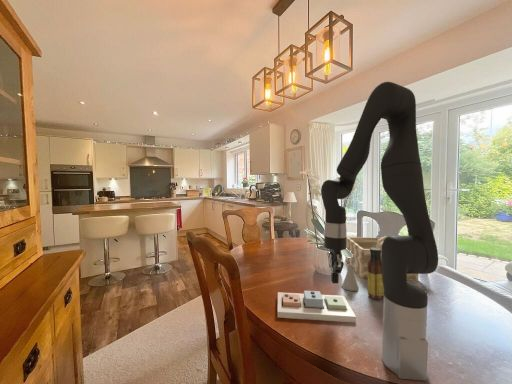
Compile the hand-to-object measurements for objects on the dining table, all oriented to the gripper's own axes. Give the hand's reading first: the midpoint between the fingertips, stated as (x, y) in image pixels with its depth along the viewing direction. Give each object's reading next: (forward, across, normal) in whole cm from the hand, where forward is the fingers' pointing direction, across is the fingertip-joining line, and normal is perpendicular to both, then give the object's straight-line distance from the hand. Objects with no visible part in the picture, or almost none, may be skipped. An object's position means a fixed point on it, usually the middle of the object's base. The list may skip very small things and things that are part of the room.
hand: (334, 282), depth 82 cm
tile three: (+10, +1, +15) cm, 18 cm away
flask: (+10, +20, -12) cm, 25 cm away
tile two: (+8, +1, +7) cm, 11 cm away
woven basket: (+9, +44, -34) cm, 57 cm away
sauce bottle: (+10, +12, -20) cm, 26 cm away
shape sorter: (+10, +42, -36) cm, 57 cm away
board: (+10, +1, +8) cm, 13 cm away
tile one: (+10, +1, -1) cm, 10 cm away
